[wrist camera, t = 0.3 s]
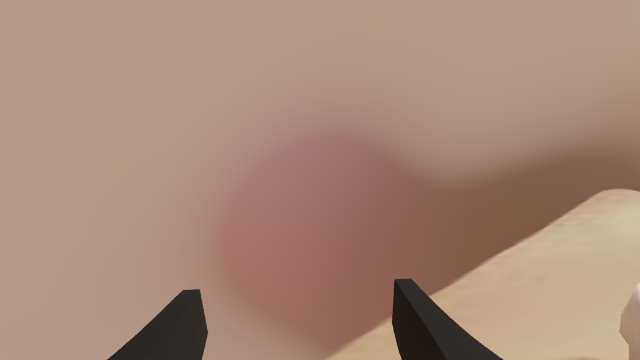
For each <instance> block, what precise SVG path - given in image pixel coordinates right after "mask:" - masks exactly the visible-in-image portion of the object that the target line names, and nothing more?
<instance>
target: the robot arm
mask: <svg viewBox="0 0 640 360" xmlns="http://www.w3.org/2000/svg"><path fill="white" fill-rule="evenodd" d="M392 325H393V329H394V334H395V338H396V342H397V346H398V350H399V353H400V356H401V359H402V360H503V359H502V358H500V357H499V356H497V355H496V354H495V353H493V352H492V351H490V350H489V349H488V348H486V347H485V346H484V345H482V344H481V343H480V342H478V341H477V340H476V339H475V338H473V337H472V336H471V335H470V334H468V333H467V332H466V331H465V330H464V329H463V328H461V327H460V326H459V325H458V324H457V323H456V322H455V321H453V320H452V319H451V318H450V317H449V316H448V315H447V314H446V313H445V312H444V311H443V310H442V309H441V308H440V307H439V306H437V305H436V304H435V303H434V302H433V301H432V300H431V299H430V298H429V297H428V296H427V294H426V293H424V292H423V290H422V289H420V287H419V286H418V285H417V284H416V283H415V282H414V281H413V280H412V279H396V280H395V282H394V298H393V315H392ZM207 335H208V331H207V325H206V320H205V315H204V309H203V305H202V299H201V294H200V290H199V289H196V290H183V291H182V292H181V293H179V294H178V295H177V296H176V297H175V298H174V299H173V300H172V301H171V302H170V303H169V304H168V305H167V306H166V307H165V308H164V309H163V310H162V311H161V312H160V313H159V314H158V315H157V316H156V317H155V318H154V319H153V320H152V321H150V322H149V323H148V324H147V325H146V326H145V327H144V328H143V329H142V330H141V331H140V332H139V333H138V334H137V335H135V336H134V337H133V338H132V339H131V340H130V341H128V343H126V344H125V345H124V346H123V347H122V348H121V349H119V350H118V351H117V352H116V353H115V354H114V355H112V356H111V357H110V358H109V359H107V360H202V356H203V352H204V348H205V343H206V339H207Z"/></svg>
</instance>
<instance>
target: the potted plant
mask: <svg viewBox="0 0 640 360" xmlns="http://www.w3.org/2000/svg"><path fill="white" fill-rule="evenodd" d="M619 332H620V334H621V335H622V336H623V338H624V339H625V340H626V342H627V343H628V344H629V360H640V283H638V284H637V286H636V288H635V290H634V291H633V293H632V295H631V297H630V299H629V301H628V303H627V305H626V307H625V308H624V310H623V312H622V314H621V322H620V331H619Z"/></svg>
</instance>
